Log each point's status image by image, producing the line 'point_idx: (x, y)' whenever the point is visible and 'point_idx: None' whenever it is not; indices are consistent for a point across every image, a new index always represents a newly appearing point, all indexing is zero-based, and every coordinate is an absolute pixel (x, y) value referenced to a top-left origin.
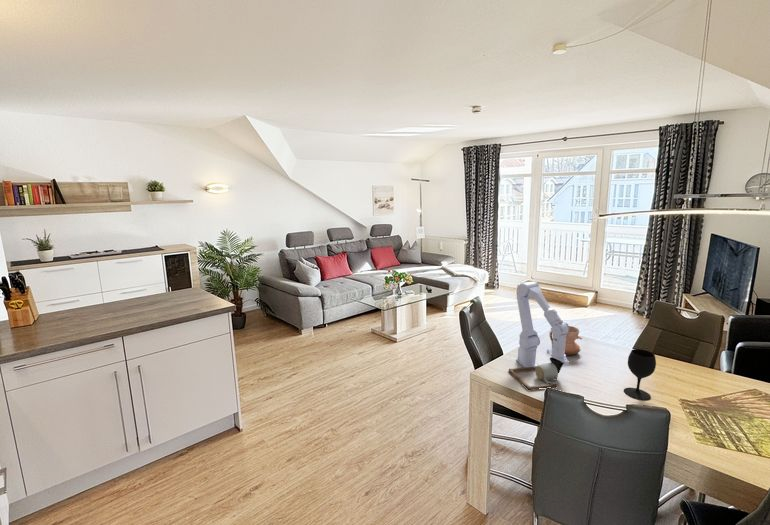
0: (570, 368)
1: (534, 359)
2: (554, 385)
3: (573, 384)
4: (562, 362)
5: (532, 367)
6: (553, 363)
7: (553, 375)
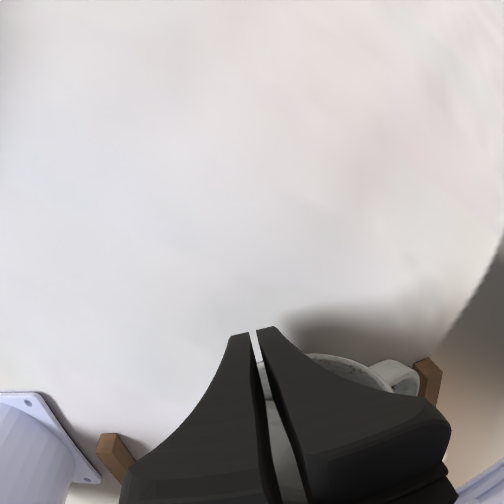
0: (18, 62)
1: (28, 469)
2: (437, 389)
3: (403, 185)
4: (496, 477)
5: (122, 474)
6: (281, 498)
7: None
